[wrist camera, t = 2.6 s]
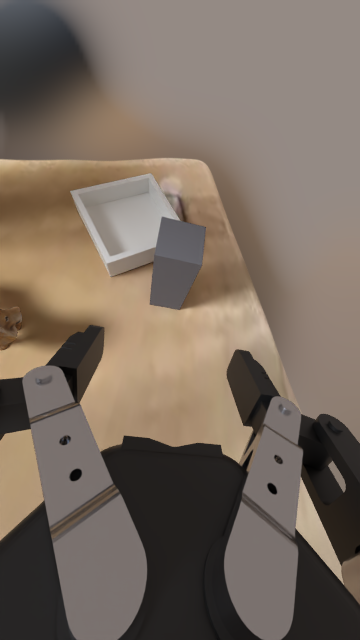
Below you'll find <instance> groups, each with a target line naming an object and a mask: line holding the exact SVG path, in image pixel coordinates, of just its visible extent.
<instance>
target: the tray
mask: <svg viewBox="0 0 360 640" xmlns="http://www.w3.org/2000/svg"><path fill="white" fill-rule="evenodd" d="M70 192H71V194H72V197H73V200H74V202H75V205H76V208H77V210H78V213H79V215H80V217H81V219H82V221H83V223H84V225H85V227H86V229H87V231H88V233H89V235H90V237H91V239H92V241H93V243H94V245H95V247H96V249H97V251H98V253H99V255H100V257H101V259H102V261H103V263H104V265H105V267H106V269H107V271H108V273H109V275H110V277H112V276H115V275H118V274H120V273H123V272H126V271H129V270H131V269H134V268H137V267H140V266H142V265H145V264H148V263H151V262H153V261H154V254H155V249H156V244H157V239H158V233H159V228H160V223H161V218H162V217H166V218H170V219H174V220H178V221H180V219H179V218H178V216H177V214H176V213H175V211H174V210H173V208H172V206H171V205H170V203H169V201H168V200H167V198H166V197H165V195H164V193H163V192H162V190H161V188H160V187H159V185H158V183H157V182H156V180H155V179H154V177H153V175H152V174H151V173H150V174H145V175H141V176H136V177H131V178H127V179H122V180H118V181H113V182H109V183H104V184H100V185H95V186H91V187H86V188H82V189H77V190H73V191H70Z"/></svg>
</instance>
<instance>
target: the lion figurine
mask: <svg viewBox="0 0 360 640" xmlns="http://www.w3.org/2000/svg"><path fill="white" fill-rule="evenodd" d="M21 321H22V315H21V311H20V308H19V307H13V308H10V309H6V310H2V309H0V350H4V349H6V348H7V346H8V343H11V342H13V341H14V340H15V339H17V338H16V337H17V333H18V332H17V330H18V329H20V327H21V323H20V322H21Z"/></svg>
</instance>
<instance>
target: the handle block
mask: <svg viewBox="0 0 360 640" xmlns="http://www.w3.org/2000/svg"><path fill="white" fill-rule="evenodd" d="M205 231H206V227H203V226H199V225H195V224H191V223H187V222H183V221H178V220H174V219H170V218H166V217H162V218H161V223H160V228H159V233H158V239H157V244H156V249H155V254H154V263H153V274H152V285H151V296H150V305H156V306H161V307H167V308H172V309H177V310H179V309H180V308H181V306H182V304H183V302H184V300H185V298H186V296H187V294H188V292H189V290H190V288H191V286H192V284H193V282H194V280H195V278H196V276H197V274H198V272H199V270H200V268H201V266H202V260H203V250H204V241H205Z"/></svg>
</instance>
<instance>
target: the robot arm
mask: <svg viewBox="0 0 360 640" xmlns="http://www.w3.org/2000/svg"><path fill="white" fill-rule="evenodd" d="M103 347H104V327H100V326H94V325H90V326H89V327H88V328H87V329H86V331H85V332H84V333H82V332H77V333H75V334H74V335H72V336H70V337H69V338H68V340H67V341H66V342H65V343H64V344H63V345H62V347H61V348H60V349H59V350H58V351H57V353H56V354H55V355H54V356H53V357H52V358H51V360H50V361H49V362H48V363H47V364H46V365H45V366H41V367H37V368H35V369H33V370H31V371H29V372H28V373H27V374H26V375H25V376H24V377H22V378H13V379H2V380H0V440H1V439H2V437H3V436H4V435H5V434H6V433H11V432H16V431H22V430H27V429H31V432H32V437H33V443H34V448H35V454H36V459H37V464H38V470H39V475H40V480H41V486H42V491H43V497H44V501H43V502H42V503H41V504H40V505H39V506H38V507H37V508H36V509H35V510H33V511H32V512H31V513H30V514H29V515H28V516H27V517H26V518H25V519H24V520H23V521H21V522H20V523H19V524H18V525H17V526H16V527H15V528H14V529H13V530H12V531H10V532H9V533H8V534H7V535H6V536H5V537H4V538H3V539H2V540H1V541H0V640H360V443H359V442H358V441H357V440H356V438H355V437H354V436H353V435H352V433H351V432H350V431H349V429H348V428H347V427H346V426H345V425H344V424H343V423H342V422H340V421H339V420H338V419H336V418H334V417H332V416H330V415H327V414H320V415H319V416H318V417H317V419H316V420H315V419H312V418H310V417H307V416H304V415H302V414H301V413H300V411H299V409H298V408H297V407H296V406H295V405H294V404H293V403H292V402H291V401H289V400H287V399H285V398H283V397H281V396H280V395H279V393H278V391H277V390H276V388H275V386H274V385H273V383H272V381H271V380H270V379H269V377H268V375H267V374H266V372H265V370H264V368H263V367H262V366H261V365H260V364H259V363H258V362H257V361H256V360H254V359H253V357H252V355H251V354H250V352H249V351H244V350H236V351H235V352H234V354H233V357H232V359H231V361H230V364H229V366H228V369H227V379H228V382H229V385H230V388H231V391H232V394H233V397H234V400H235V403H236V406H237V408H238V411H239V414H240V417H241V420H242V423H243V426H250V427H252V428H253V431H252V433H251V435H250V437H249V440H248V442H247V445H246V447H245V450H244V452H243V455H242V457H241V460H240V462H239V464H238V463H237V462H236V461H235V460H233V459H232V458H230V457H228V456H226V455H224V454H223V453H222V449H221V445H214V444H204V443H195V444H190V445H184V446H179V447H171V446H169V445H166V444H163V443H161V442H158V441H155V440H153V439H150V438H142V437H132V436H124V438H123V443H122V444H120V445H116V446H112V447H109V448H107V449H105V450H103V451H101V452H100V451H99V448H98V446H97V443H96V441H95V439H94V436H93V434H92V431H91V429H90V427H89V424H88V422H87V419H86V417H85V415H84V412H83V410H82V407H81V405H80V401H81V399H82V397H83V395H84V393H85V391H86V389H87V387H88V385H89V382H90V380H91V378H92V376H93V374H94V372H95V370H96V368H97V366H98V364H99V362H100V360H101V358H102V354H103ZM332 461H333V462H334V463H335V465H336V466H337V468H338V470H339V471H340V473H341V475H342V476H343V478H344V480H345V484H346V490H345V492H344V493H343V491H342V489H341V488H340V486H339V484H338V482H337V481H336V479H335V478H334V475H333V474H332V472H331V471H330V469H329V467H328V465H329V464H330V463H331V462H332ZM300 477H301V478H302V480H303V482H304V484H305V487H306V489H307V491H308V493H309V496H310V498H311V500H312V502H313V504H314V507H315V509H316V511H317V513H318V515H319V518H320V520H321V522H322V524H323V527H324V529H325V531H326V533H327V535H328V538H329V540H330V542H331V544H332V546H333V549H334V551H335V553H336V555H337V558H338V560H339V562H340V564H341V566H342V568H341V572H342V578H343V582H344V585H343V583H342V582H341V581H340V580H339V579H338V578H337V576H336V575H335V574H334V573H333V572H332V571H331V569H330V568H329V567H328V566H327V565H326V564H325V562H324V561H323V560H322V559H321V558H320V556H319V555H318V554H317V553H316V552H315V551H314V549H313V548H312V547H311V546H310V545H309V544H308V542H307V541H306V540H305V539H304V538H303V537H302V535H301V534H300V533H299V532H298V531H297V529H296V528H295V527H296V517H297V507H298V497H299V487H300Z"/></svg>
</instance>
